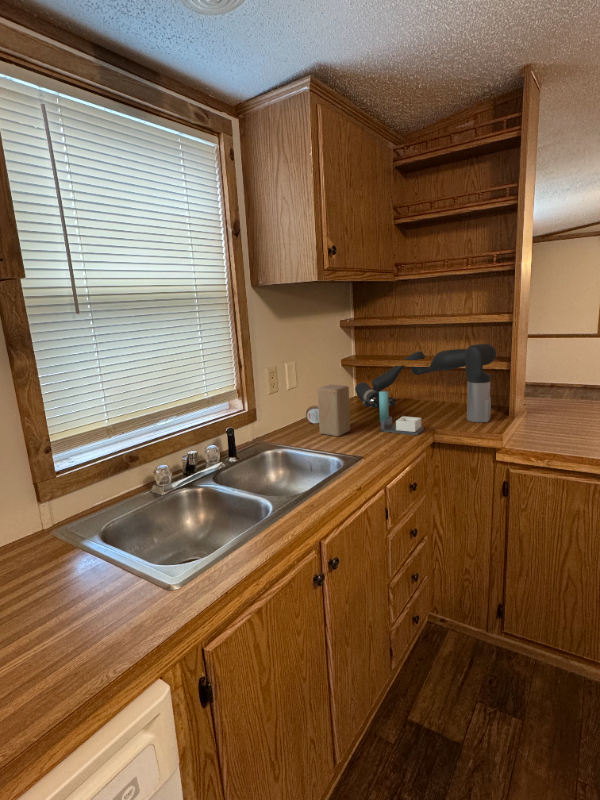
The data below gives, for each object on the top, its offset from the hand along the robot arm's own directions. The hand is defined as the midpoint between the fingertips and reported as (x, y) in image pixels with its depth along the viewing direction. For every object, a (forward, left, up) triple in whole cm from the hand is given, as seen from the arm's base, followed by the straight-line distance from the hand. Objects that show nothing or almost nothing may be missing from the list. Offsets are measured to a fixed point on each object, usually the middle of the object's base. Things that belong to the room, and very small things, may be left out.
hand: (384, 405), depth 202 cm
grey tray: (-12, +10, -8) cm, 18 cm away
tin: (+26, +11, -8) cm, 30 cm away
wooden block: (+13, +23, -8) cm, 28 cm away
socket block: (-15, +10, -7) cm, 19 cm away
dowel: (0, 0, -8) cm, 8 cm away
